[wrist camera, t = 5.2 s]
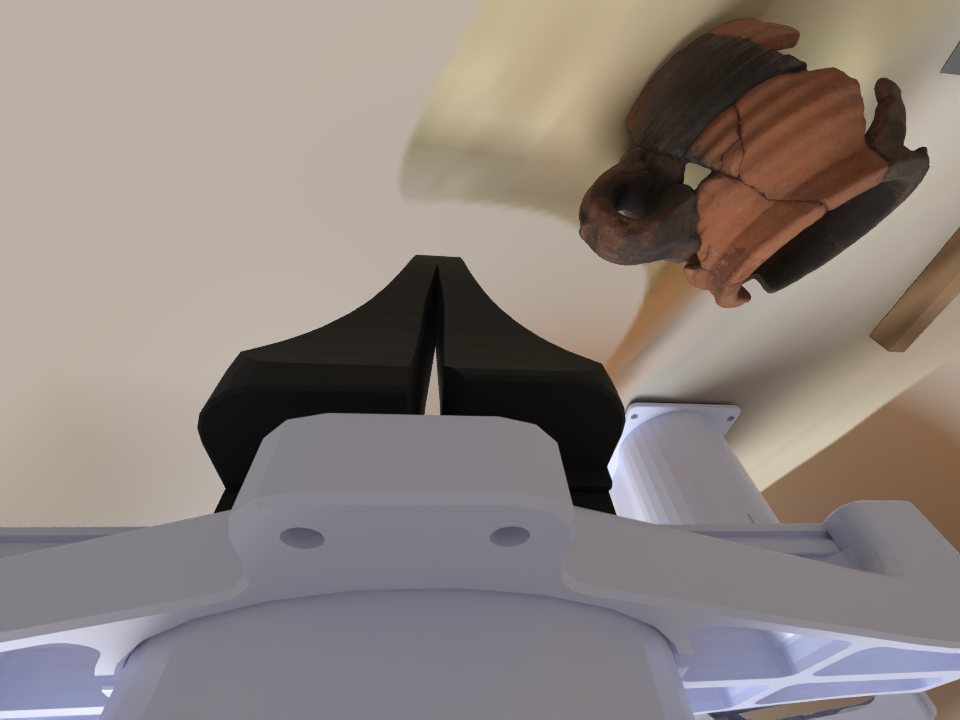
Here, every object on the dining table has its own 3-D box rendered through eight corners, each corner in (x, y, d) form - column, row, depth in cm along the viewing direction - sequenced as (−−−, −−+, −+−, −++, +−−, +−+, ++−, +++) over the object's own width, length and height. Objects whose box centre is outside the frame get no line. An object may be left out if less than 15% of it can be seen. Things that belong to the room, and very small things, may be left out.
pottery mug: (836, -46, 15) (1057, 78, 12) (726, 169, 24) (834, 277, 20) (533, 76, 14) (674, 247, 11) (534, 252, 23) (612, 378, 19)
